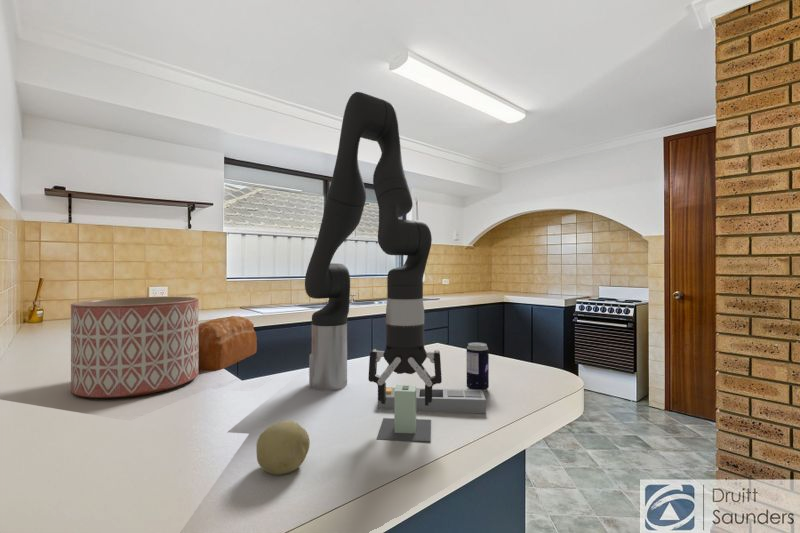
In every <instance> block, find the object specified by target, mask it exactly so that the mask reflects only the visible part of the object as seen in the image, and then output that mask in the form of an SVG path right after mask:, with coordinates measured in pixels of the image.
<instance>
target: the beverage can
mask: <svg viewBox="0 0 800 533" xmlns="http://www.w3.org/2000/svg"><path fill="white" fill-rule="evenodd" d="M489 352H490V351H489V348H488V344H487V343H485V342H478V341H477V342H468V343H467V347H466V388H467V389H471V390H482V391H483V393H485V392H486V391H487V390H488V389H489V387H490V384H489V382H490V379H489V375H490V374H489V372H490V371H489V368H490V367H489V366H490V365H489V364H490V363H489V362H490V361H489V360H490V358H489V354H490V353H489Z"/></svg>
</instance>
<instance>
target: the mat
mask: <svg viewBox="0 0 800 533" xmlns="http://www.w3.org/2000/svg"><path fill="white" fill-rule="evenodd" d="M431 435H432V419H423V418H419V419H418V418H416V432H415V433H395V417H393V418H388V417H387V418H385V417H383V419H382V421H381V425H380V427H379V430H378V433H377V437H376V440H378V441H394V442H411V443H412V442H413V443H425V444H426V443H427V444H431V441H432V439H431V437H432V436H431Z"/></svg>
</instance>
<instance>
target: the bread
mask: <svg viewBox="0 0 800 533" xmlns="http://www.w3.org/2000/svg"><path fill="white" fill-rule="evenodd" d="M254 327H255V324H254V323H253V322H252V321H251V320H250V319H248V318H245V317H243V316H240V315H236V316H235V315H231V316H225V317H220V318H219V317H218V318H215V319H209V320H207V321H204V322H200V323H198V371H212V372H213V371H214V372H215V371H221V370H223V369H226V368H228V367H230V366H233V365H235V364H236V363H239V362H241V361H242V360H245V359H247V358H249V357H252V356H253V355H255V354H256V353H257V347H258V346H257V345H258V344H257V341H258V338H257V337H258V336H257V332H256V331H255V330H254Z"/></svg>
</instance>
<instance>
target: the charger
mask: <svg viewBox="0 0 800 533" xmlns="http://www.w3.org/2000/svg"><path fill="white" fill-rule="evenodd" d="M394 388H395V391H394V409H393V410H394V415H393V416H394V419H395V433H415V432H416V419H417V410H416V388H417V385H416V384H396V385H395V387H394Z"/></svg>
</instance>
